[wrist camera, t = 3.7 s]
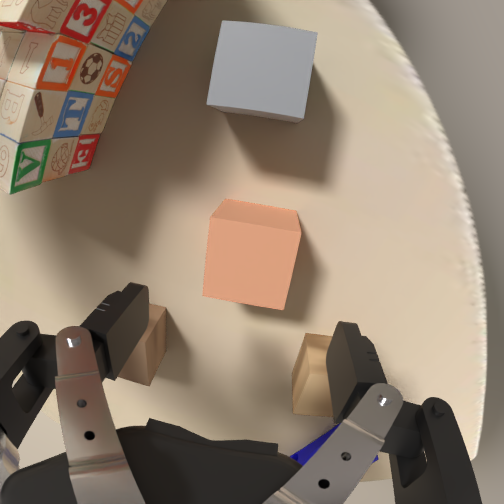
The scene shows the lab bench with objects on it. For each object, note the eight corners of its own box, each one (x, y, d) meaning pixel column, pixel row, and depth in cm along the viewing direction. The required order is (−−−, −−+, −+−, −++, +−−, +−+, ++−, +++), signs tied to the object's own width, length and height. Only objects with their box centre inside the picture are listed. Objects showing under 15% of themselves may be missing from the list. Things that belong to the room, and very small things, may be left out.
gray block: (223, 112, 19) (206, 104, 14) (235, 45, 17) (222, 20, 12) (297, 123, 18) (303, 118, 14) (308, 56, 17) (317, 32, 12)
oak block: (292, 373, 26) (292, 413, 22) (305, 332, 24) (309, 373, 20) (341, 378, 26) (349, 417, 22) (359, 339, 24) (372, 378, 20)
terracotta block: (217, 262, 23) (202, 295, 18) (225, 198, 21) (210, 217, 16) (282, 274, 23) (283, 310, 18) (296, 210, 21) (301, 232, 16)
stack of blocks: (91, 171, 21) (-30, 213, 9) (43, 146, 20) (-70, 174, 9) (212, -56, 13) (166, -150, 2) (149, -63, 12) (83, -132, 1)
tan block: (120, 337, 27) (97, 369, 22) (115, 294, 25) (88, 325, 20) (166, 350, 27) (149, 386, 22) (166, 307, 25) (145, 342, 20)
